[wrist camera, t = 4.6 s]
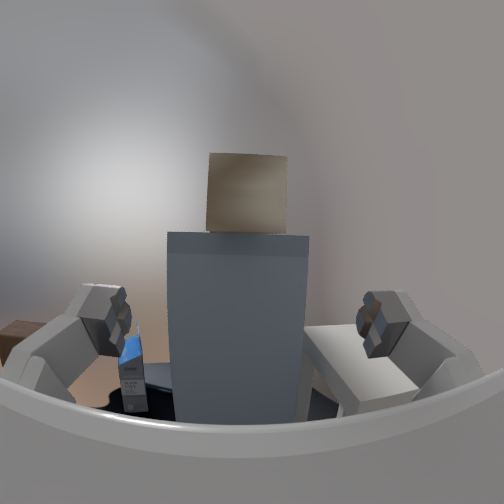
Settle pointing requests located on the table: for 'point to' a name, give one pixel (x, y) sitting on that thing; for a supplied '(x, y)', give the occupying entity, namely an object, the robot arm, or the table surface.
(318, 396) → the table surface
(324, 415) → the table surface
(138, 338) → the label tape box
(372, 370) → the stool
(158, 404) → the table surface
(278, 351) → the tall blue-grey box
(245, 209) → the long tan plank
